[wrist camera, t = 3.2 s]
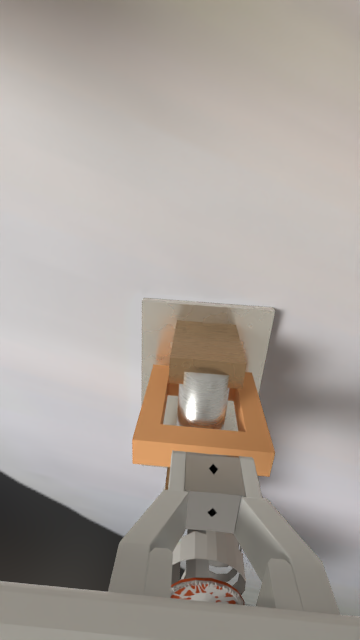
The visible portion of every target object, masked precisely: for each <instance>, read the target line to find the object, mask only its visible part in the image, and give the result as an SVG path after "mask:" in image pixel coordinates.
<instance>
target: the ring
mask: <svg viewBox="0 0 360 640" xmlns="http://www.w3.org/2000/svg"><path fill="white" fill-rule="evenodd" d="M168 395H171V396H179V384H176V383H169V366H166V365H154V364H153V368H152V371H151V375H150V378H149V382H148V386H147V389H146V393H145V396H144V400H143V404H142V407H141V411H140V414H139V418H138V421H137V425H136V429H135V432H134V436H133V439H132V449H133V464H143V465H153V466H164V467H170V465H171V455H172V450H174V451H183V452H195V453H204V454H217V455H231V456H238V457H239V456H243V457H252V458H253V459H254V463H255V467H256V472H257V476H268V477H269V476H270V472H271V468H272V464H273V460H274V456H275V451H274V447H273V444H272V440H271V437H270V433H269V430H268V426H267V423H266V420H265V416H264V413H263V409H262V406H261V402H260V399H259V395H258V392H257V388H256V385H255V381H254V378H253V375H252V373H251V372H245V376H244V382H243V388H242V389H235V388H230V389H229V396H228V400H229V401H233V402H234V408H235V414H236V420H237V427H238V431H229V430H218V429H207V428H196V427H185V426H174V425H163V421H164V415H165V409H166V403H167V397H168Z"/></svg>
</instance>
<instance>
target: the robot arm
mask: <svg viewBox="0 0 360 640" xmlns="http://www.w3.org/2000/svg"><path fill="white" fill-rule="evenodd" d="M185 529H193V530H210V531H218V532H226V533H234V535H235V537H236V539H237V540H238V542H239V544H240V546H241V547H242V549H243V551H244V552H245V554H246V556H247V558H248V559H249V561H250V563H251V564H252V566H253V568H254V569H255V571H256V573H257V575H258V576H259V578H260V580H261V581H262V585H261V589H260V592H259V596H258V599H257V603H256V606H247V605H237V604H226V603H216V602H206V601H196V600H185V599H175V598H170V597H171V580H172V563H173V553H172V552H173V551H174V549H175V547H176V545H177V544H178V542H179V540H180V539H181V537H182V535H183V534H184V532H185ZM0 640H360V617H358V616H348V615H340V612H339V609H338V606H337V603H336V600H335V597H334V595H333V592H332V589H331V586H330V583H329V580H328V577H327V574H326V572H325V569H324V566H323V563H322V561H321V560H320V559H319V558H318V557H317V556H316V554H315V553H314V552H313V551H312V550H311V549H310V548H309V546H308V545H307V544H306V543H305V542H304V541H303V540H302V538H301V537H300V536H299V535H298V534H297V533H296V532H295V530H294V529H293V528H292V527H291V526H290V525H289V524H288V522H287V521H286V520H285V519H284V518H283V517H282V516H281V514H280V513H279V512H278V511H277V510H276V509H275V508H274V506H273V505H272V504H271V503H270V502H269V501H268V500H267V499H265V498H262V494H261V489H260V485H259V480H258V476H257V472H256V467H255V463H254V459H253V458H252V457H243V456H239V457H238V456H231V455H217V454H204V453H195V452H183V451H174V450H172V455H171V465H170V475H169V485H168V490H163V491H162V493H161V494H160V495H159V496H158V497H157V498H156V500H155V501H154V502H153V503H152V504H151V506H150V507H149V508H148V509H147V510H146V512H145V513H144V514H143V515H142V516H141V517H140V519H139V520H138V521H137V522H136V523H135V525H134V526H133V527H132V528H131V529H130V531H129V532H128V533H127V534H126V535H125V537H124V538H123V539H122V540H121V541H120V543H119V547H118V551H117V556H116V560H115V564H114V568H113V573H112V577H111V581H110V586H109V590H108V592H103V591H93V590H84V589H73V588H63V587H53V586H43V585H32V584H23V583H12V582H3V581H0Z"/></svg>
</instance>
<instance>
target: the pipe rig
mask: <svg viewBox="0 0 360 640" xmlns="http://www.w3.org/2000/svg"><path fill="white" fill-rule="evenodd" d="M274 314H275V310H274V308H273V307H260V306H246V305H233V304H220V303H206V302H193V301H179V300H166V299H152V298H143V300H142V404H143V400H144V396H145V393H146V389H147V386H148V382H149V378H150V375H151V371H152V368H153V364H154V365H166V366H169V383H176V384H179V396H171V395H168V397H167V403H166V409H165V415H164V421H163V425H174V426H185V427H196V428H207V429H218V430H229V431H238V427H237V420H236V414H235V408H234V402H233V401H229V400H228V396H229V389H230V388H235V389H242V388H243V382H244V376H245V372H251V373H252V375H253V378H254V381H255V385H256V388H257V392H258V395H259V390H260V385H261V380H262V375H263V370H264V365H265V360H266V355H267V350H268V345H269V340H270V334H271V329H272V324H273V319H274ZM141 465H143V464H141ZM146 466H153V465H146ZM156 467H164V466H156ZM169 475H170V467H167V477H166V485H165V490H168V485H169Z"/></svg>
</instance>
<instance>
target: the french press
mask: <svg viewBox="0 0 360 640" xmlns="http://www.w3.org/2000/svg"><path fill="white" fill-rule="evenodd" d="M163 490H165V488H164V489H163ZM172 553H173V563H172V580H171V597H170V598H175V599H185V600H196V601H206V602H216V603H226V604H237V605H244V600H243V598H242V597H241V595H242V593H243V592H244V591H245V583H246V581H245V571H244V562H243V554H242V553H241V546H240V550H239V542H238V540H237V539H236V537H235V535H234V533H226V532H218V531H210V530H193V529H188V533H187V535H186V536H183V537H181V539H180V540H179V542H178V544H177V545H176V547H175V549H174V551H173V552H172ZM184 560H186V570H185V572H184V574H183V576H182V578H181V580H180V581H179V575H180V574H179V573H180V561H184ZM209 565H211V566H214V567H228V566H231V567H232V568H233V569H232V570H231V571H230V572H229V573H228V574H216V573H214V572H211V571H209ZM237 571H238V572H239V573H240V574H239V578H238V581H237V582H236V583H235V584H234V585H233V586H231V585H229V584H228V583H226V582H228V581H229V580H231V579H232V578H233V577H234V576H235V575H236V574H237ZM185 575H186V579H184V577H185Z"/></svg>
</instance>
